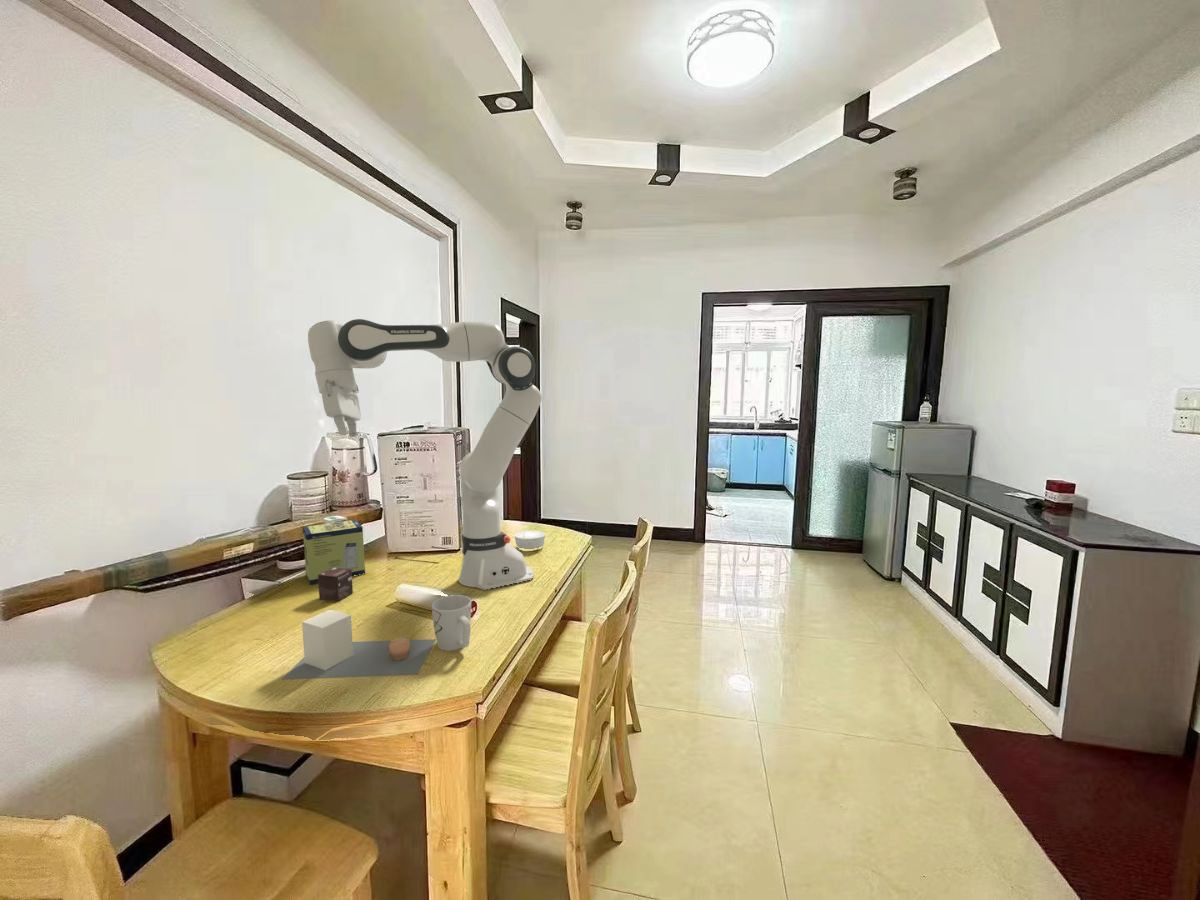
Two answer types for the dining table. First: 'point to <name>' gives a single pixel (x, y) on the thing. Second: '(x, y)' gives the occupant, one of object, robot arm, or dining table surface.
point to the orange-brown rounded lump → (399, 648)
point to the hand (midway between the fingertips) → (349, 435)
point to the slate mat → (369, 662)
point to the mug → (452, 621)
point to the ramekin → (530, 539)
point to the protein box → (333, 548)
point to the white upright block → (327, 639)
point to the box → (335, 584)
